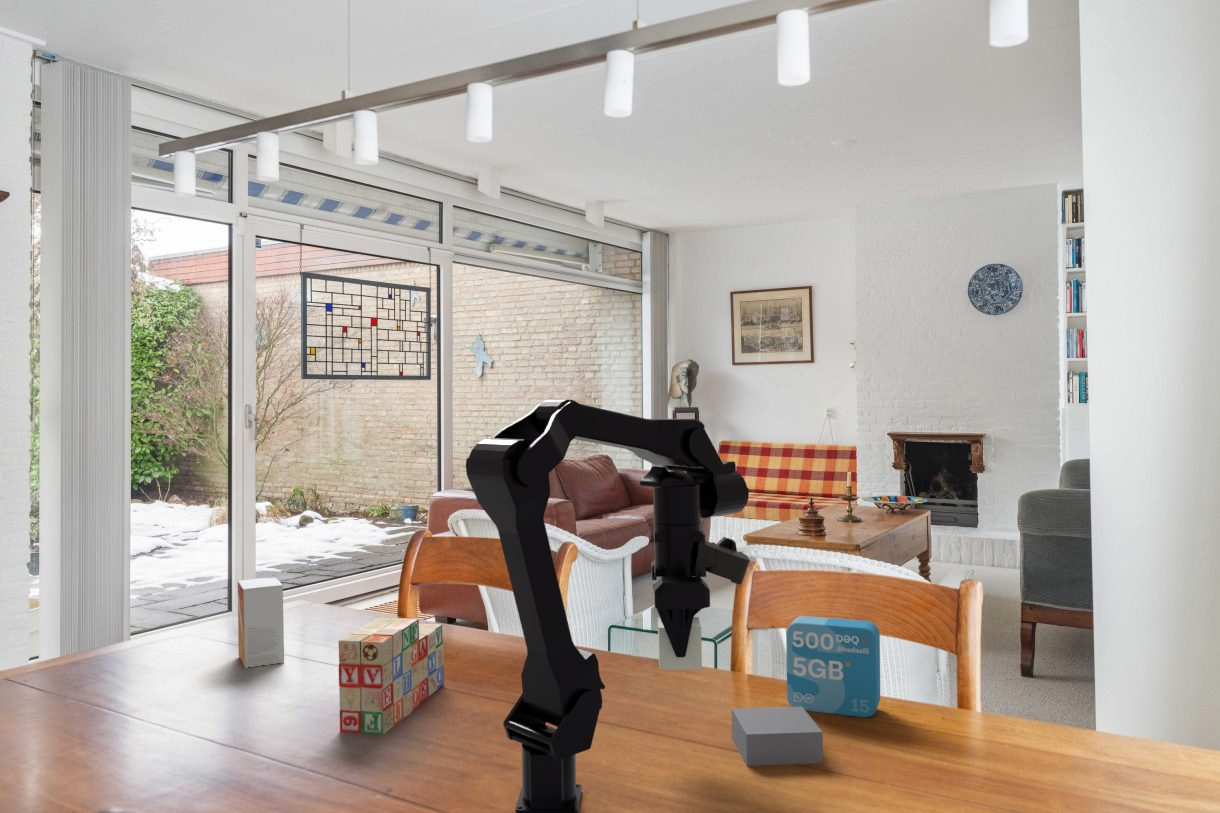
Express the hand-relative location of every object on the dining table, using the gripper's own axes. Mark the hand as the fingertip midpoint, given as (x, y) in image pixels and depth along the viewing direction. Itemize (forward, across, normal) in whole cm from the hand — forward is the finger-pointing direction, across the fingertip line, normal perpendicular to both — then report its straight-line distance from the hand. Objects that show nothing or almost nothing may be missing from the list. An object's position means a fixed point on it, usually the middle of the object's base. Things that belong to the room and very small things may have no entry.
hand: (679, 650), depth 112 cm
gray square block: (+13, 0, -12) cm, 17 cm away
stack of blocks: (+12, +17, +39) cm, 44 cm away
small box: (+12, +40, +68) cm, 80 cm away
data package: (+13, +15, -22) cm, 29 cm away
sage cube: (+2, 0, 0) cm, 2 cm away
